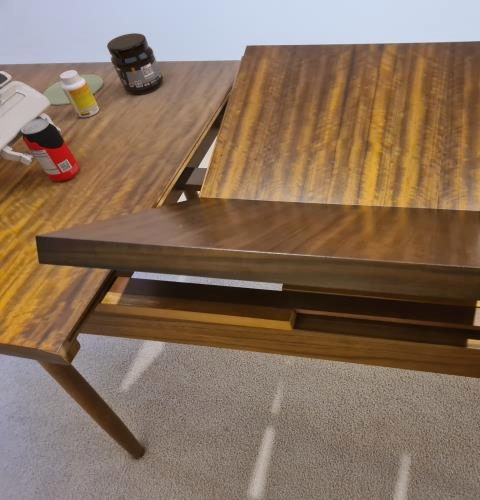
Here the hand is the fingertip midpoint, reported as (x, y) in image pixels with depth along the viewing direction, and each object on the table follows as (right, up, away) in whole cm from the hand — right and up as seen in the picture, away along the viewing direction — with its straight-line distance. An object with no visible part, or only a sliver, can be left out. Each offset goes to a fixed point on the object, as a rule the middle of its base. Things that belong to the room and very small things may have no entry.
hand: (46, 147), depth 92 cm
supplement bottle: (-4, +14, +23) cm, 27 cm away
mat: (-13, +23, +33) cm, 42 cm away
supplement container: (+7, +23, +31) cm, 39 cm away
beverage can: (+1, -5, +6) cm, 8 cm away
